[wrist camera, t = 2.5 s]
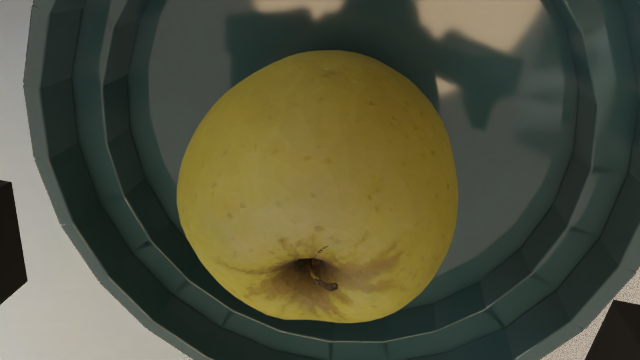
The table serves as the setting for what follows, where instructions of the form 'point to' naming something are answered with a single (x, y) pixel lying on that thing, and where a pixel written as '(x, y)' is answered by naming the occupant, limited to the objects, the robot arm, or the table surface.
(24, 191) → the table surface
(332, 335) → the bowl
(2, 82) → the table surface
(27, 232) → the table surface
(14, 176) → the table surface
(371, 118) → the apple
